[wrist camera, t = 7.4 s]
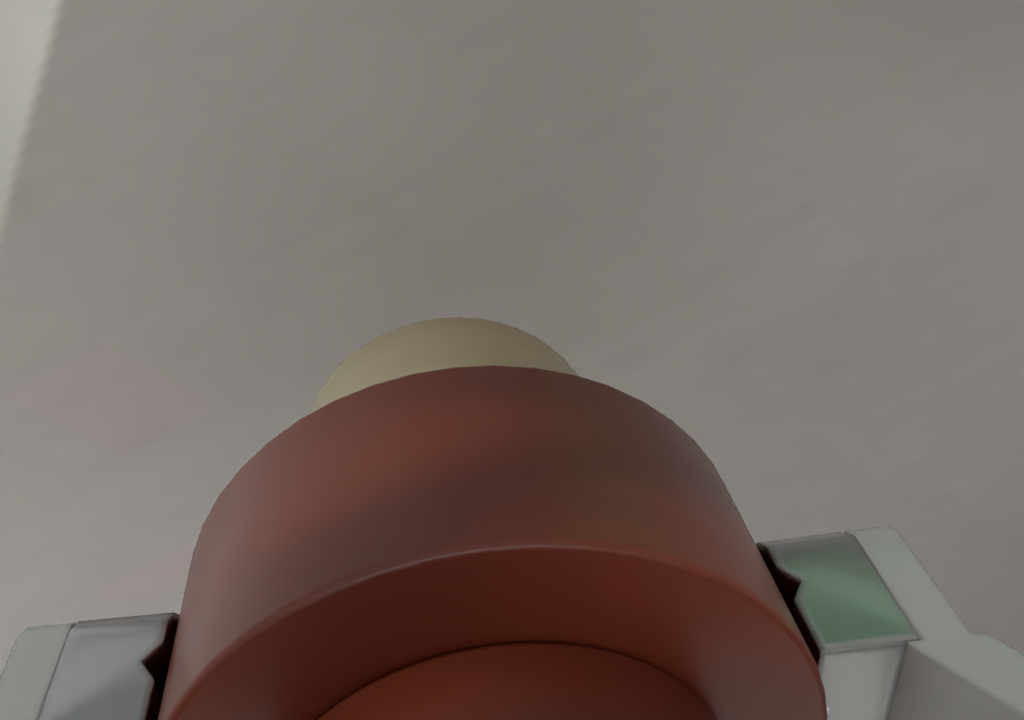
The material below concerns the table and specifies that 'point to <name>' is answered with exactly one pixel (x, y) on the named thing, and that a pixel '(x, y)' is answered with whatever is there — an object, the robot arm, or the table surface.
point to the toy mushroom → (481, 556)
